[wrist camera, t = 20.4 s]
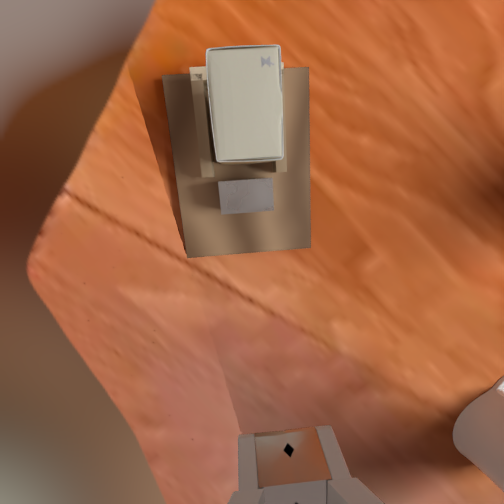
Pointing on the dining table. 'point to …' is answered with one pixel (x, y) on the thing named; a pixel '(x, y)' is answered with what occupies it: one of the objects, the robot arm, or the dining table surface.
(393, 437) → the dining table surface
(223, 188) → the block
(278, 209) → the base
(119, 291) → the dining table surface
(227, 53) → the skincare box
